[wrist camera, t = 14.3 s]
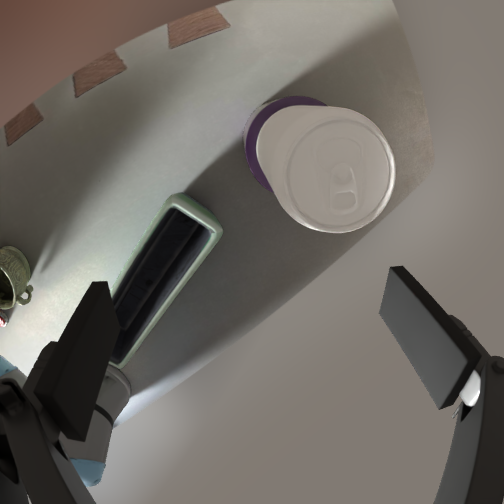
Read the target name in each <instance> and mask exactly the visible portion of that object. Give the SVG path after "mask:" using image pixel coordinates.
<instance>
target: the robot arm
mask: <svg viewBox="0 0 504 504" xmlns="http://www.w3.org/2000/svg"><path fill="white" fill-rule="evenodd" d="M379 314H380V316H381V317H382V319H383V320H384V322H385V323H386V325H387V326H388V327H389V329H390V331H391V332H392V334H393V335H394V337H395V338H396V340H397V342H398V343H399V345H400V346H401V348H402V349H403V351H404V353H405V354H406V356H407V357H408V359H409V360H410V362H411V364H412V366H413V367H414V369H415V370H416V372H417V374H418V375H419V377H420V379H421V380H422V382H423V383H424V385H425V387H426V389H427V390H428V392H429V394H430V396H431V397H432V399H433V401H434V402H435V404H436V406H437V407H438V409H439V410H440V409H443V408H445V407H448V406H451V405H453V404H454V402H455V401H456V399H457V398H458V396H459V395H460V397H461V398H462V400H463V401H462V402H461V404H460V405H459V407H458V408H457V409H456V411H455V412H454V414H453V416H452V418H454V417H455V416H456V415H457V414H458V417H457V422H456V426H455V431H454V436H453V440H452V444H451V448H450V452H449V456H448V460H447V463H446V467H445V470H444V473H443V477H442V480H441V483H440V486H439V489H438V492H437V495H436V498H435V501H434V504H502V502H503V498H504V358H502V357H500V356H492V357H491V356H490V355H489V354H488V352H487V351H486V350H485V349H484V347H483V346H482V345H481V344H480V343H479V342H478V340H477V339H476V338H475V337H474V336H472V333H471V332H470V331H469V330H467V328H466V326H465V325H464V324H463V323H462V322H461V321H460V320H459V319H457V318H456V317H454V316H453V315H448V314H447V313H446V312H445V311H444V310H443V308H442V307H441V306H440V305H439V304H438V303H437V302H436V301H435V300H434V298H433V297H432V296H431V295H430V294H429V293H428V292H427V291H426V290H425V289H424V288H423V286H422V285H421V284H420V283H419V282H418V281H417V280H416V279H415V278H414V277H413V276H412V275H411V274H410V273H409V272H408V271H407V270H406V269H405V268H404V267H403V266H395V267H390V269H389V274H388V278H387V283H386V287H385V291H384V295H383V300H382V303H381V308H380V311H379ZM120 329H121V328H120V325H119V322H118V319H117V315H116V312H115V308H114V305H113V301H112V298H111V294H110V290H109V286H108V283H107V281H98V282H92V283H91V285H90V287H89V288H88V290H87V291H86V293H85V295H84V296H83V298H82V300H81V301H80V303H79V305H78V307H77V308H76V310H75V312H74V313H73V315H72V317H71V319H70V320H69V322H68V324H67V326H66V328H65V329H64V331H63V333H62V335H61V337H60V339H59V341H58V342H54V341H51V342H50V343H49V344H48V345H46V346H45V347H44V348H43V349H42V351H41V353H40V355H39V357H38V358H37V359H38V360H36V362H35V364H34V368H32V370H31V372H30V374H29V376H28V377H27V376H25V375H24V374H23V373H22V372H21V371H20V370H19V369H18V367H16V366H13V365H12V364H11V363H10V362H9V361H7V360H6V359H5V358H4V357H3V356H1V355H0V504H29V501H28V496H29V498H30V500H31V503H32V504H96V502H95V501H94V499H93V498H92V496H91V495H90V493H89V491H88V490H87V488H86V487H90V486H95V485H97V484H98V483H99V482H100V481H101V478H102V474H103V471H104V468H105V466H106V464H105V462H106V457H107V452H108V447H109V442H110V437H111V433H112V428H113V424H114V421H115V420H116V418H117V417H118V416H119V414H120V413H121V411H122V410H123V408H124V407H125V406H126V405H127V403H128V401H129V398H130V394H131V387H130V384H129V382H128V380H127V378H126V377H125V376H124V375H123V374H122V373H121V372H120V371H119V370H118V369H117V368H116V367H114V366H113V365H111V364H109V361H110V358H111V355H112V352H113V349H114V346H115V343H116V340H117V338H118V335H119V332H120ZM27 494H28V496H27Z"/></svg>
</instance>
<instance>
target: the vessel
mask: <svg viewBox="0 0 504 504" xmlns="http://www.w3.org/2000/svg"><path fill="white" fill-rule="evenodd" d="M30 274H31V273H30V267H29V264H28V261H27V259H26V257H25V256H24V255H23V253H22V252H21V251H20V250H18V249H17V248H15V247H12V246H4V247H3V248H2V249H0V308H1V309H10V308H12V307H13V306H14V304H15V302H17V303H18V304H19V305H25V304H27V303H29V302H30V300H31V297H32V295H31V292H32V291H33V287H32V286H31V285H29V286H27V283H28V282H29V280H30ZM24 292H26V293H27V294H28V299H23V298H22V297H21V296H22V295H23V293H24Z"/></svg>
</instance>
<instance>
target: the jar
mask: <svg viewBox="0 0 504 504" xmlns="http://www.w3.org/2000/svg"><path fill="white" fill-rule="evenodd" d="M296 105H307V106H327V105H326V104H324V103H322V102H320V101H318V100H316V99H313V98H309V97H304V96H290V97H284V98H281V99H277V100H273V101H270V102H267V103H265V104H263V105H261V106H259V107H258V108H257V109H256V110H254V112H253V113H252V114H251V115H250V117H249V118H248V120H247V122H246V124H245V127H244V131H243V145H244V149H245V155H246V159H247V162H248V165H249V168H250V170H251V172H252V174H253V175H254V177H255V178H256V179H257V181H258V182H259V183H260V184H261V185H262V186H264V187H265V188H266V189H268V190H269V191H271V192H272V193H274V191H273V190H272V188H271V186H270V184H269V182H268V180H267V178H266V176H265V174H264V173H263V171H262V169H261V167H260V164H259V162H258V158H257V152H256V145H257V139H258V135H259V132H260V130H261V128H262V126H263V125H264V123H265V122H266V121H267V120H268V119H269V118H270V117H271V116H272V115H273V114H274V113H276V112H277V111H279V110H281V109H283V108H286V107H290V106H296Z"/></svg>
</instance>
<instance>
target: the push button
mask: <svg viewBox="0 0 504 504" xmlns="http://www.w3.org/2000/svg"><path fill="white" fill-rule="evenodd" d="M8 322H9V320H8V317H7V316H6V314H5V313H4V312H2V311H0V326H1V327H3V326H6V325H7V324H8Z"/></svg>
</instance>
